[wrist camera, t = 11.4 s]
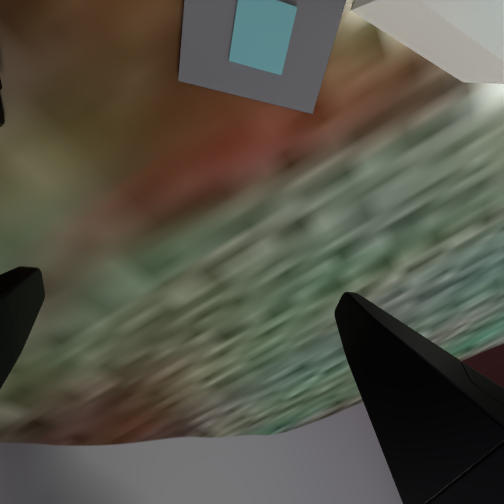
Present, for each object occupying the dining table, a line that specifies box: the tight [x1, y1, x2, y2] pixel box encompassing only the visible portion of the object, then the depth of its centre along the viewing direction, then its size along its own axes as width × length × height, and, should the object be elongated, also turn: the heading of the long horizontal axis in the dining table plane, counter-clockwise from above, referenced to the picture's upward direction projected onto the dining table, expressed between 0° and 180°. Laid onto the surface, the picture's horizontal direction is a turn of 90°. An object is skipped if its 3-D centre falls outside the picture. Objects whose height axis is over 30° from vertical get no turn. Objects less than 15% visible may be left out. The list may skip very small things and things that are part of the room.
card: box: [178, 0, 346, 114], centre depth 15 cm, size 8×6×1 cm
